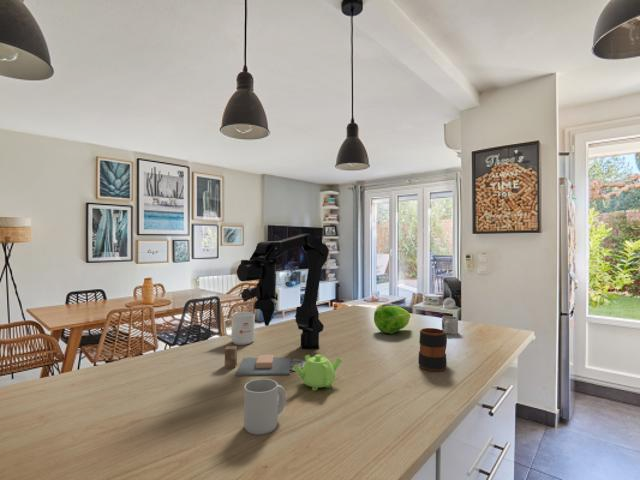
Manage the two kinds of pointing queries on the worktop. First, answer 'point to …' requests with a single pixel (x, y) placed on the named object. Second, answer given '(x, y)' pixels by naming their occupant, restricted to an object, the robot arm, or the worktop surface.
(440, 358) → the mug
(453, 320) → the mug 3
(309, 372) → the teapot
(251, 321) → the mug
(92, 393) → the worktop surface
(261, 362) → the tile
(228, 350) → the walnut block
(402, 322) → the lettuce
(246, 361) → the mat
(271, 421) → the cup
